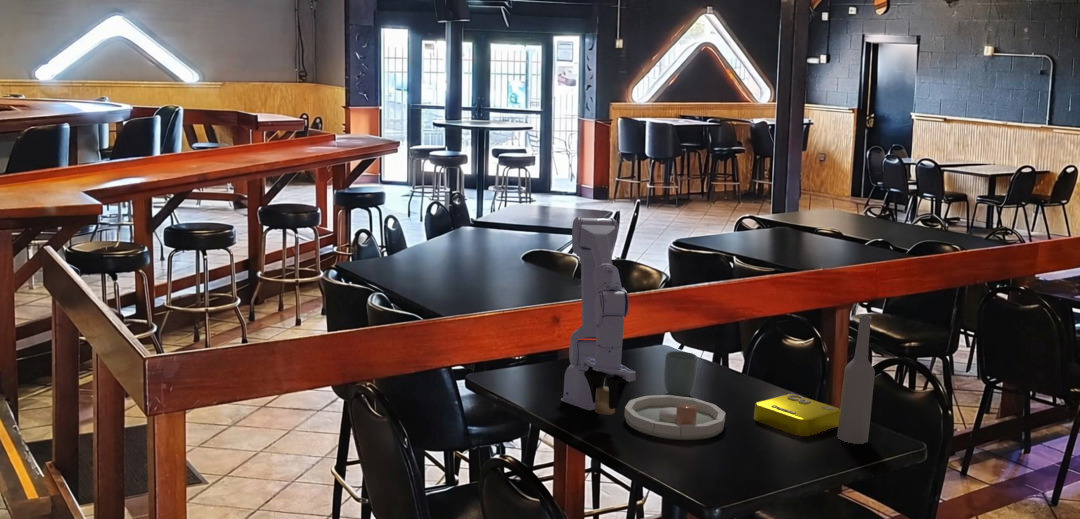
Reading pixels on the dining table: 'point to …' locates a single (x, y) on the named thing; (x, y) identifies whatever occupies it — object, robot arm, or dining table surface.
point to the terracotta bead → (686, 414)
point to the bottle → (857, 390)
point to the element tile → (796, 414)
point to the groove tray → (673, 417)
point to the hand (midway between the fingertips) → (605, 405)
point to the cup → (680, 373)
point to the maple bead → (603, 401)
